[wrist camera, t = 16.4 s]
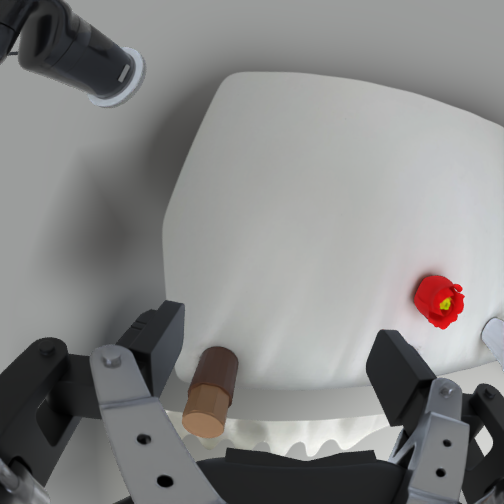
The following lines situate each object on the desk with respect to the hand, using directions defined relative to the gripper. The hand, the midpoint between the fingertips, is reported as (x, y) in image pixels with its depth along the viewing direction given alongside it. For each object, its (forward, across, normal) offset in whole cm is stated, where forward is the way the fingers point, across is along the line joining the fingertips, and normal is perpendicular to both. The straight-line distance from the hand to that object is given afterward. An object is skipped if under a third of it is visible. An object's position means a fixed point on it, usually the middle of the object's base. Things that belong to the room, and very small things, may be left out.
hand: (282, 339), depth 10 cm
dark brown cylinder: (+31, +5, +26) cm, 41 cm away
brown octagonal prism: (+21, +5, +26) cm, 34 cm away
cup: (+30, -55, +14) cm, 64 cm away
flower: (+31, -30, +7) cm, 43 cm away
